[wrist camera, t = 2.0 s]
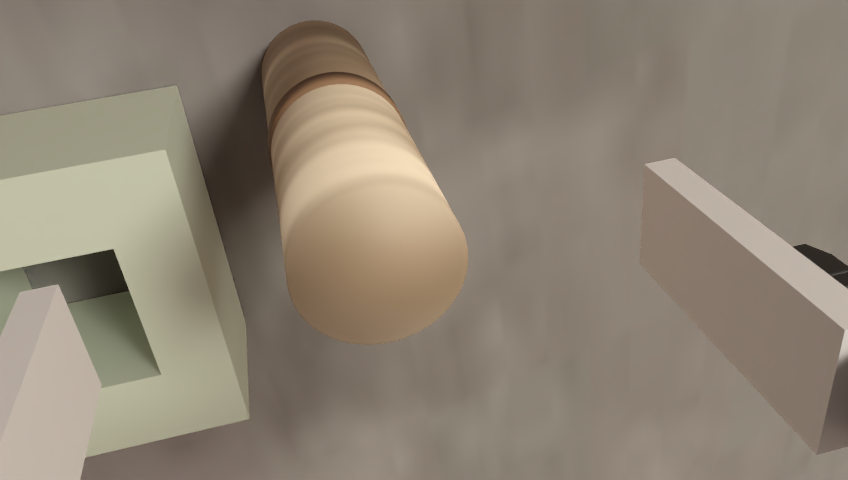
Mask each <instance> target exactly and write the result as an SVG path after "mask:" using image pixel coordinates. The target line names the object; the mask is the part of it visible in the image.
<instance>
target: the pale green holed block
mask: <svg viewBox="0 0 848 480" xmlns="http://www.w3.org/2000/svg"><path fill="white" fill-rule="evenodd" d="M110 249H114V252H115V254H116V257H117V260H118V262H119V265H120V268H121V270H122V273H123V275H124V278H125V281H126V283H127V286H128V289H129V291H126V292H121V293H116V294H112V295H107V296H102V297H97V298H92V299H87V300H83V301H78V302H73V303H68V304H67V306H68V308H69V310H70V313H71V315H72V317H73V320H74V322H75V324H76V326H77V329H78V331H79V333H80V336H81V338H82V340H83V343H84V345H85V347H86V350H87V352H88V354H89V357H90V359H91V361H92V364H93V366H94V368H95V370H96V373H97V375H98V377H99V380H100V382H101V384H102V385H101V389H100V394H99V398H98V403H97V407H96V412H95V416H94V420H93V425H92V429H91V434H90V438H89V443H88V447H87V452H86V456H85V458H86V457H90V456H94V455H99V454H103V453H107V452H111V451H116V450H120V449H124V448H128V447H133V446H137V445H141V444H145V443H150V442H154V441H158V440H162V439H167V438H171V437H175V436H179V435H184V434H188V433H192V432H196V431H201V430H205V429H209V428H213V427H218V426H222V425H226V424H230V423H235V422H239V421H243V420H247V419H249V391H248V363H247V335H246V322H245V319H244V315H243V312H242V308H241V305H240V302H239V298H238V295H237V291H236V288H235V284H234V281H233V277H232V274H231V270H230V267H229V263H228V260H227V257H226V253H225V250H224V246H223V243H222V239H221V236H220V232H219V229H218V225H217V222H216V219H215V215H214V212H213V208H212V205H211V201H210V198H209V194H208V191H207V187H206V184H205V180H204V177H203V174H202V170H201V167H200V163H199V160H198V156H197V153H196V149H195V146H194V142H193V139H192V135H191V132H190V129H189V125H188V122H187V118H186V115H185V111H184V108H183V104H182V101H181V97H180V94H179V91H178V87H177V85H176V86H170V87H164V88H158V89H152V90H147V91H141V92H135V93H129V94H123V95H118V96H112V97H106V98H100V99H94V100H88V101H83V102H77V103H71V104H65V105H59V106H54V107H48V108H42V109H36V110H30V111H25V112H19V113H13V114H7V115H1V116H0V336H1V333H2V331H3V329H4V327H5V324H6V322H7V320H8V318H9V315H10V313H11V311H12V309H13V306H14V304H15V302H16V299H17V297H18V295H19V293H20V292H23V291H28V290H32V287H31V284H30V282H29V280H28V278H27V276H26V274H25V272H24V269H23V267H25V266H30V265H35V264H40V263H45V262H50V261H55V260H60V259H65V258H70V257H75V256H80V255H85V254H90V253H95V252H100V251H105V250H110Z"/></svg>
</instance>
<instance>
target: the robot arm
mask: <svg viewBox="0 0 848 480" xmlns="http://www.w3.org/2000/svg"><path fill="white" fill-rule="evenodd" d="M640 265H641V266H642V267H643V268H644V269H645V270H646V271H647V272H648V273H649V274H650V275H651V276H652V277H653V279H654V280H655V281H656V282H657V283H658V284H659V285H660V286H661V287H662V288H663V289H664V290H665V291H666V293H667V294H668V295H669V296H670V297H671V298H672V299H673V300H674V301H675V302H676V303H677V304H678V306H679V307H680V308H681V309H682V310H683V311H684V312H685V313H686V314H687V315H688V316H689V317H690V318H691V320H692V321H693V322H694V323H695V324H696V325H697V326H698V327H699V328H700V329H701V330H702V331H703V332H704V334H705V335H706V336H707V337H708V338H709V339H710V340H711V341H712V342H713V343H714V344H715V345H716V347H717V348H718V349H719V350H720V351H721V352H722V353H723V354H724V355H725V356H726V357H727V358H728V359H729V361H730V362H731V363H732V364H733V365H734V366H735V367H736V368H737V369H738V370H739V371H740V372H741V373H742V375H743V376H744V377H745V378H746V379H747V380H748V381H749V382H750V383H751V384H752V385H753V386H754V388H755V389H756V390H757V391H758V392H759V393H760V394H761V395H762V396H763V397H764V398H765V399H766V400H767V402H768V403H769V404H770V405H771V406H772V407H773V408H774V409H775V410H776V411H777V412H778V413H779V415H780V416H781V417H782V418H783V419H784V420H785V421H786V422H787V423H788V424H789V425H790V426H791V427H792V429H793V430H794V431H795V432H796V433H797V434H798V435H799V436H800V437H801V438H802V439H803V440H804V441H805V443H806V444H807V445H808V446H809V447H810V448H811V449H812V450H813V451H814V452H815V453H816V454H817V455H818V454H821V453H825V452H829V451H832V450H836V449H840V448H843V447H847V446H848V266H847V265H846V264H844V263H843V262H841V261H840V260H839V259H837V258H836V257H834V256H833V255H832V254H829V253H827V252H824V251H822V250H819V249H816V248H814V247H811V246H809V245H806V244H803V245H798V246H794V247H792V246H791V245H789V244H788V243H787V242H785V241H784V240H783V239H781V238H780V237H779V236H777V235H776V234H775V233H773V232H772V231H771V230H769V229H768V228H767V227H765V226H764V225H763V224H761V223H760V222H759V221H758V220H756V219H755V218H754V217H752V216H751V215H750V214H748V213H747V212H746V211H744V210H743V209H742V208H740V207H739V206H738V205H736V204H735V203H734V202H732V201H731V200H730V199H728V198H727V197H726V196H725V195H723V194H722V193H721V192H719V191H718V190H717V189H715V188H714V187H713V186H711V185H710V184H709V183H707V182H706V181H705V180H703V179H702V178H701V177H699V176H698V175H697V174H695V173H694V172H693V171H691V170H690V169H689V168H688V167H686V166H685V165H684V164H682V163H681V162H680V161H678V160H677V159H676V158H672V159H667V160H662V161H658V162H653V163H648V164H644V185H643V206H642V227H641V248H640ZM101 385H102V384H101V382H100V380H99V377H98V375H97V373H96V370H95V368H94V366H93V364H92V361H91V359H90V357H89V354H88V352H87V350H86V347H85V345H84V343H83V340H82V338H81V336H80V333H79V331H78V329H77V326H76V324H75V322H74V320H73V317H72V315H71V313H70V310H69V308H68V306H67V303H66V301H65V299H64V296H63V294H62V292H61V289H60V287H59V285H58V284H57V285H52V286H47V287H42V288H37V289H32V290H28V291H23V292H20V293H19V295H18V297H17V299H16V302H15V304H14V306H13V309H12V311H11V313H10V315H9V318H8V320H7V322H6V324H5V327H4V329H3V331H2V333H1V336H0V480H80V478H81V474H82V469H83V465H84V460H85V456H86V452H87V447H88V443H89V438H90V434H91V429H92V425H93V420H94V416H95V412H96V407H97V403H98V398H99V394H100V389H101Z"/></svg>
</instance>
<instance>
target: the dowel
mask: <svg viewBox="0 0 848 480" xmlns="http://www.w3.org/2000/svg"><path fill="white" fill-rule="evenodd" d="M261 75H262V85H263V93H264V101H265V109H266V117H267V125H268V147H269V156H270V162H271V166H272V169H273V174H274V182H275V190H276V198H277V206H278V214H279V222H280V230H281V238H282V246H283V254H284V262H285V270H286V278H287V285H288V291H289V294H290V297H291V300H292V302H293V304H294V305H295V307H296V309H297V311H298V312H299V313H300V315H301V316H302V317H303V318H304V319H305V320H306V321H307V322H308V323H309V324H310V325H311V326H312V327H314V328H315V329H316V330H318V331H320V332H321V333H323V334H325V335H327V336H329V337H331V338H334V339H336V340H340V341H344V342H347V343H354V344H368V345H370V344H382V343H388V342H393V341H396V340H400V339H403V338H406V337H408V336H411V335H413V334H415V333H417V332H419V331H421V330H423V329H424V328H426V327H427V326H429V325H430V324H432V323H433V322H434V321H435V320H437V319H438V318H439V317H440V316H441V315H442V314H443V313H444V312H445V311H446V310H447V309H448V308H449V307H450V305H451V304H452V303H453V301H454V300H455V299H456V297H457V295H458V293H459V292H460V290H461V287H462V285H463V283H464V280H465V276H466V273H467V267H468V248H467V242H466V239H465V236H464V233H463V231H462V229H461V227H460V225H459V223H458V221H457V219H456V218H455V216H454V214H453V212H452V210H451V209H450V207H449V205H448V203H447V201H446V199H445V198H444V196H443V194H442V192H441V190H440V189H439V187H438V185H437V183H436V181H435V179H434V178H433V176H432V174H431V172H430V170H429V169H428V167H427V165H426V163H425V161H424V160H423V158H422V156H421V154H420V152H419V150H418V149H417V147H416V145H415V143H414V141H413V140H412V138H411V136H410V134H409V132H408V131H407V128H406V125H405V122H404V120H403V118H402V116H401V114H400V112H399V111H398V109H397V107H396V105H395V104H394V102H393V100H392V99H391V98H390V96H389V95H388V94H387V92H386V91H385V89H384V87H383V85H382V83H381V82H380V80H379V78H378V76H377V74H376V72H375V71H374V69H373V67H372V65H371V63H370V62H369V60H368V58H367V56H366V54H365V53H364V51H363V49H362V47H361V46H360V44H359V43H358V41H357V40H356V39H355V38H354V37H353V36H352V35H351V34H350V33H349V32H348V31H346V30H345V29H343V28H341V27H339V26H337V25H335V24H332V23H329V22H324V21H305V22H301V23H298V24H295V25H292V26H290V27H288V28H287V29H285V30H284V31H282V32H281V33H280V34H279V35H278V36H277V37H275V38H274V40H273V41H272V42H271V44H270V45H269V47H268V49H267V50H266V53H265V55H264V58H263V62H262V69H261Z"/></svg>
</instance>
